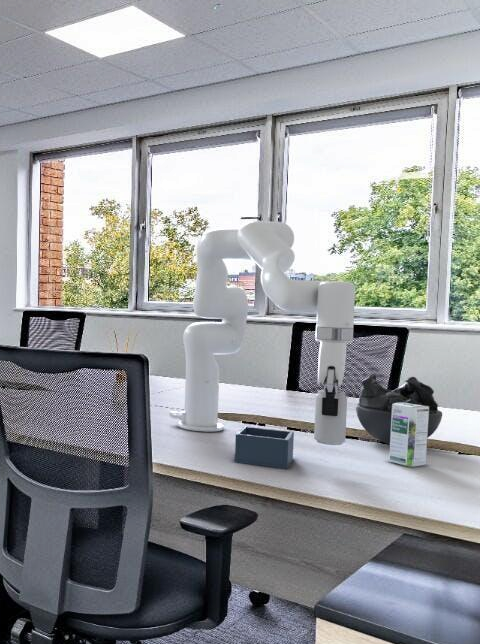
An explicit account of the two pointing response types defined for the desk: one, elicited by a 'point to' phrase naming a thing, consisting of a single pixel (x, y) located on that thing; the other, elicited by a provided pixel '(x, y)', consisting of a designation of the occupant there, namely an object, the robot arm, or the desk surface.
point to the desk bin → (264, 447)
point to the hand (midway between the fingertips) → (330, 412)
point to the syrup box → (408, 434)
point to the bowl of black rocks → (379, 400)
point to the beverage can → (330, 421)
